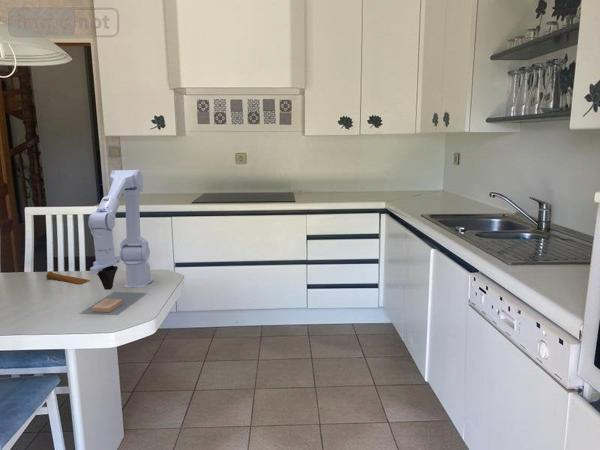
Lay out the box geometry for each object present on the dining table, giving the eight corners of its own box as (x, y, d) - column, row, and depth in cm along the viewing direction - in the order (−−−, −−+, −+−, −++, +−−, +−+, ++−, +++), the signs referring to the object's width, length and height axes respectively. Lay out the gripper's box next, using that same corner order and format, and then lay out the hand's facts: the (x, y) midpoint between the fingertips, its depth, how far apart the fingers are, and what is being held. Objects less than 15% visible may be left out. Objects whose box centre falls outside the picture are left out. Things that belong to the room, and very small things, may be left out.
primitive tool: (91, 281, 180) (90, 273, 179) (80, 285, 175) (79, 277, 174) (52, 278, 185) (51, 270, 185) (41, 282, 180) (40, 273, 180)
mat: (114, 293, 164) (113, 292, 164) (147, 294, 162) (147, 292, 162) (79, 314, 144) (79, 313, 144) (117, 316, 142) (117, 314, 142)
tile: (105, 298, 152) (91, 307, 144) (122, 299, 151) (109, 307, 144) (105, 303, 152) (92, 312, 145) (122, 303, 152) (109, 312, 144)
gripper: (105, 243, 154) (108, 281, 156) (79, 254, 139) (84, 296, 142) (124, 243, 153) (128, 282, 155) (100, 254, 139) (105, 296, 141)
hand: (108, 289), depth 149 cm, fingers closed
